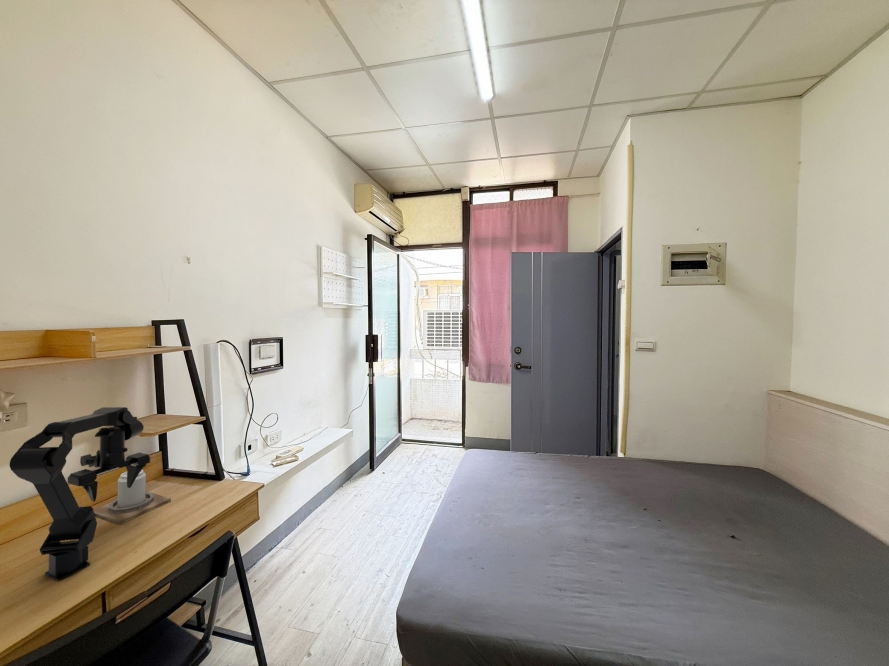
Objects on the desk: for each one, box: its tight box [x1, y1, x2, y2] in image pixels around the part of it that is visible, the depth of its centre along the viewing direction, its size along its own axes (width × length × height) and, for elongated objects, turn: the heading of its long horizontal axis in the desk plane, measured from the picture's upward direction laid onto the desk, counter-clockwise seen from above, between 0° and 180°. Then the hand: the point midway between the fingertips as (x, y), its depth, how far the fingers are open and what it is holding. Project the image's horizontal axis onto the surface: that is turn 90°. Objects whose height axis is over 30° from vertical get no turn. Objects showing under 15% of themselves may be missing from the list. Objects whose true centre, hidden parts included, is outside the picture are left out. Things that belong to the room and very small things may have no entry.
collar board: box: [93, 491, 172, 526], centre depth 124 cm, size 16×16×3 cm
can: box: [117, 469, 147, 508], centre depth 123 cm, size 8×8×12 cm
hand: (111, 494), depth 109 cm, fingers open, 9 cm apart
